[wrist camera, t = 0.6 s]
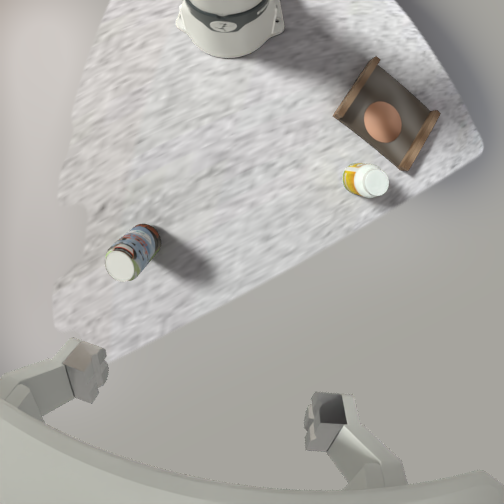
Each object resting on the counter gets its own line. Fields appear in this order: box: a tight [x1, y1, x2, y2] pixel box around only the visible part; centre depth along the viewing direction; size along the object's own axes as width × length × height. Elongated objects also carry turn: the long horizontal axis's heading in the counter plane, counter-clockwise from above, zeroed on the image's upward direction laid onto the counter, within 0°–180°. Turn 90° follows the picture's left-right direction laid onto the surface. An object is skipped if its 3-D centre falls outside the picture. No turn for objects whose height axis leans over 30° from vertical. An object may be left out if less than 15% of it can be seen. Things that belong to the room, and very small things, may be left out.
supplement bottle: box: [342, 163, 389, 198], centre depth 47 cm, size 5×5×10 cm
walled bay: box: [333, 56, 441, 171], centre depth 47 cm, size 14×16×3 cm
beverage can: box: [105, 224, 161, 282], centre depth 47 cm, size 6×7×12 cm
